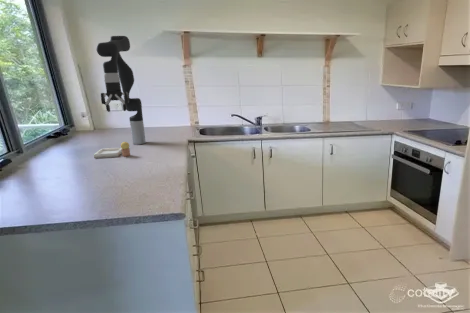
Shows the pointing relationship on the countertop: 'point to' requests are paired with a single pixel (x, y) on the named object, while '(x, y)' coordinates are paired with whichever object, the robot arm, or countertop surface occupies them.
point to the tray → (108, 153)
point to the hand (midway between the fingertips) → (116, 111)
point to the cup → (125, 152)
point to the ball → (124, 145)
